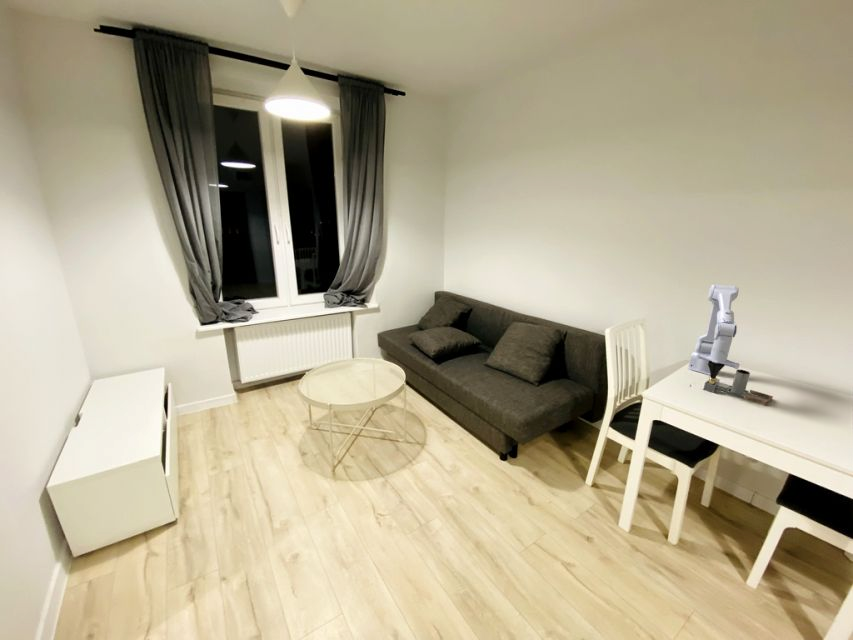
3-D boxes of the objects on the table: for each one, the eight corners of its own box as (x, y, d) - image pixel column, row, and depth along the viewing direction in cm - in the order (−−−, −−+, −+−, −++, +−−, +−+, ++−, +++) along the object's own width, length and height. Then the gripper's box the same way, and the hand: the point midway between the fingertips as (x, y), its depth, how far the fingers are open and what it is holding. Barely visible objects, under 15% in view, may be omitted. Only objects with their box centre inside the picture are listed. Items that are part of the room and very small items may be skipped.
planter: (744, 392, 156) (750, 371, 153) (743, 396, 153) (749, 374, 150) (730, 389, 159) (736, 368, 156) (730, 392, 156) (736, 371, 153)
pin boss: (703, 389, 159) (705, 382, 158) (706, 386, 162) (708, 379, 161) (713, 393, 156) (715, 386, 155) (717, 389, 159) (718, 383, 158)
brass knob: (705, 386, 159) (708, 377, 157) (707, 385, 160) (710, 375, 159) (713, 389, 156) (715, 379, 155) (715, 387, 158) (717, 378, 157)
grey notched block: (707, 385, 163) (709, 379, 162) (710, 383, 165) (712, 377, 165) (726, 391, 158) (728, 385, 157) (729, 388, 160) (730, 382, 159)
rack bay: (744, 398, 151) (745, 395, 151) (749, 392, 156) (750, 389, 156) (767, 405, 146) (768, 402, 145) (771, 399, 151) (773, 396, 150)
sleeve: (704, 386, 162) (705, 384, 162) (710, 381, 167) (711, 379, 167) (743, 398, 152) (743, 396, 152) (748, 392, 156) (748, 391, 156)
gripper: (697, 346, 156) (690, 374, 160) (739, 357, 145) (730, 386, 149) (702, 343, 160) (696, 370, 164) (744, 353, 149) (735, 382, 153)
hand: (713, 377), depth 157 cm, fingers closed, pressing on brass knob
